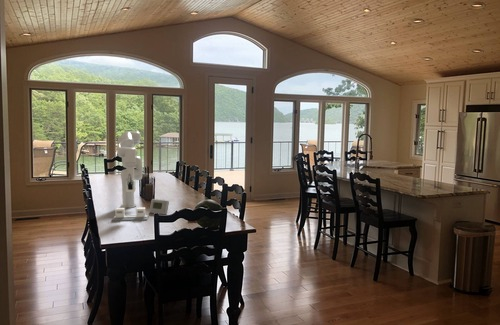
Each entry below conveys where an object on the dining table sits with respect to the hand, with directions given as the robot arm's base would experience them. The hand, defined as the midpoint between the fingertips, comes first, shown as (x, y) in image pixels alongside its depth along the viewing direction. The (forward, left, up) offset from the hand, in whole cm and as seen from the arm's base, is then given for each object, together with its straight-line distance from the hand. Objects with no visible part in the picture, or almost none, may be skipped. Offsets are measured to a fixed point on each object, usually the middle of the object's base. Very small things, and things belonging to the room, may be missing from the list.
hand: (130, 188), depth 300 cm
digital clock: (-12, +19, -23) cm, 32 cm away
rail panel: (+3, 0, -22) cm, 22 cm away
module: (0, 0, -2) cm, 2 cm away
